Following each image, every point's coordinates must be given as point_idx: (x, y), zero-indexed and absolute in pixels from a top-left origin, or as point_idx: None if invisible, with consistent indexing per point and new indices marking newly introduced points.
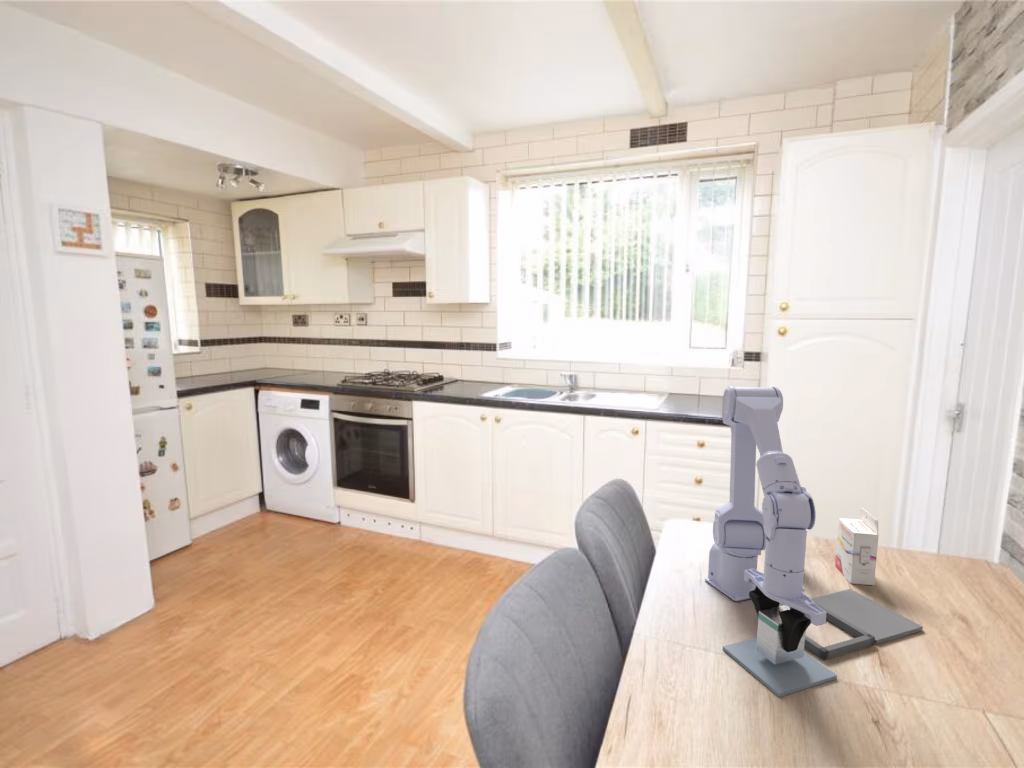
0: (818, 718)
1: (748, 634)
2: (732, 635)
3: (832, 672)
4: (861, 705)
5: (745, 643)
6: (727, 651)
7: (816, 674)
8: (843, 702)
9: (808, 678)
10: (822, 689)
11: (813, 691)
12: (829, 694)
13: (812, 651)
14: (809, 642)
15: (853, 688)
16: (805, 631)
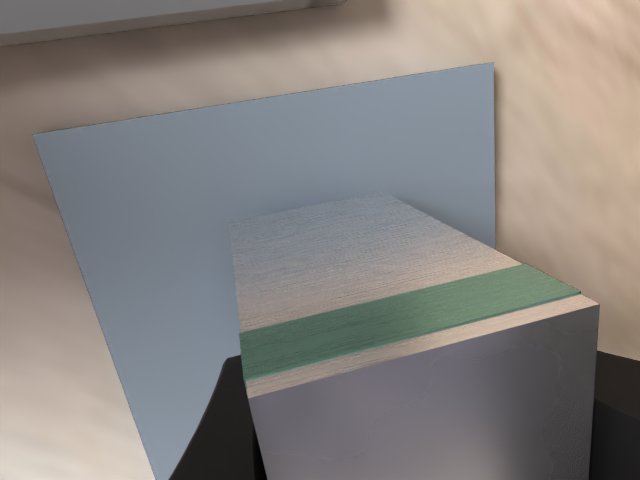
0: (604, 319)
1: (24, 308)
2: (34, 403)
3: (470, 69)
4: (631, 97)
5: (152, 394)
6: None
7: (458, 175)
8: (591, 164)
9: (465, 233)
10: (510, 197)
11: (506, 246)
12: (541, 189)
13: (261, 13)
14: (235, 6)
15: (554, 34)
16: (478, 241)
